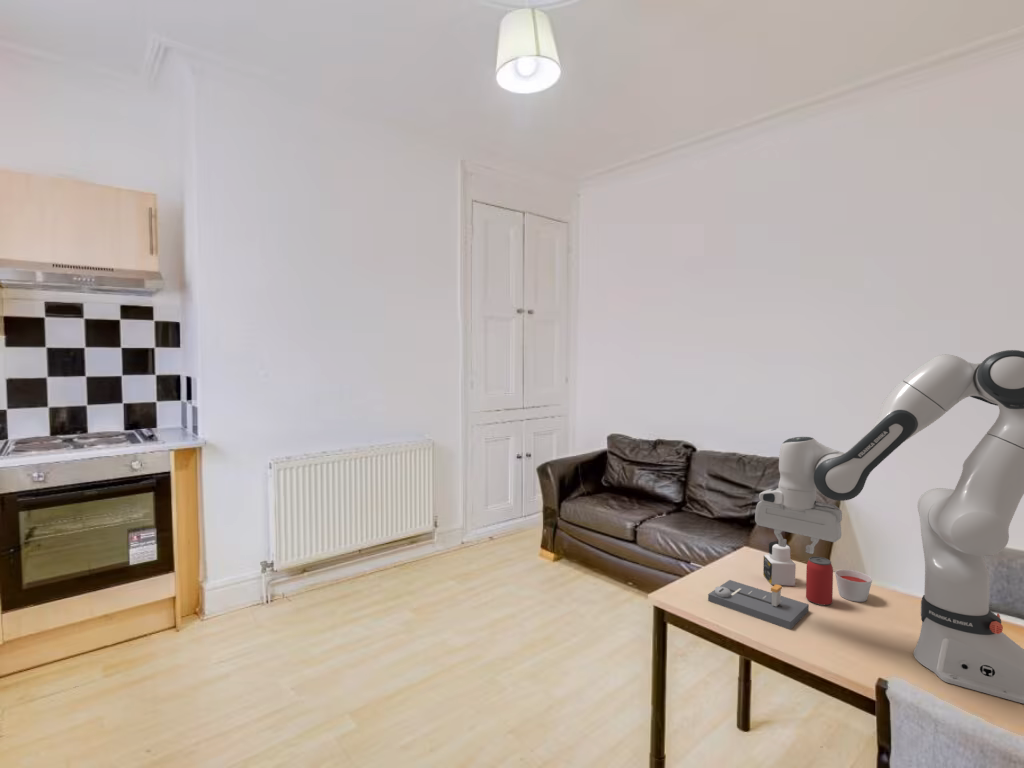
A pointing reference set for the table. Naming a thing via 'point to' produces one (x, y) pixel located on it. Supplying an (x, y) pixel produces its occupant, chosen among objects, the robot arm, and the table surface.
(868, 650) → the table surface
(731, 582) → the console
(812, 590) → the beer can
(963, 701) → the table surface
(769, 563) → the medicine bottle
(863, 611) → the table surface
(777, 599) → the fader
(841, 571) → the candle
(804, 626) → the table surface
